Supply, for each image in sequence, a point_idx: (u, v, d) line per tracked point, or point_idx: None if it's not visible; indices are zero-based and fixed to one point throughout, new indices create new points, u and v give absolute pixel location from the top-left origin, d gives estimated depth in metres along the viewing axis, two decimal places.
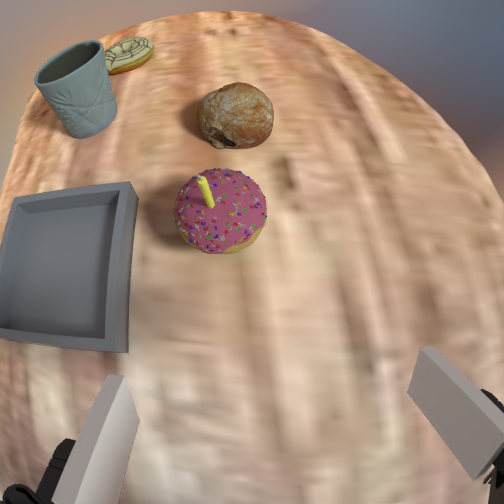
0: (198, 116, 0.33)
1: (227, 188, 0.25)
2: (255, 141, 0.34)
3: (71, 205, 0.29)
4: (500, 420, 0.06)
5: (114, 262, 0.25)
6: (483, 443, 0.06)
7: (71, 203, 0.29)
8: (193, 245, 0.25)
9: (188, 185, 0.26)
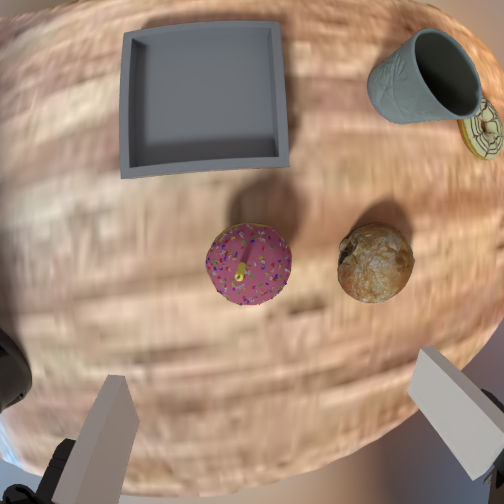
0: (374, 227, 0.32)
1: (259, 278, 0.28)
2: (340, 284, 0.35)
3: (272, 94, 0.28)
4: (500, 420, 0.06)
5: (198, 166, 0.28)
6: (483, 443, 0.06)
7: (272, 95, 0.28)
8: (212, 244, 0.29)
9: (268, 239, 0.28)
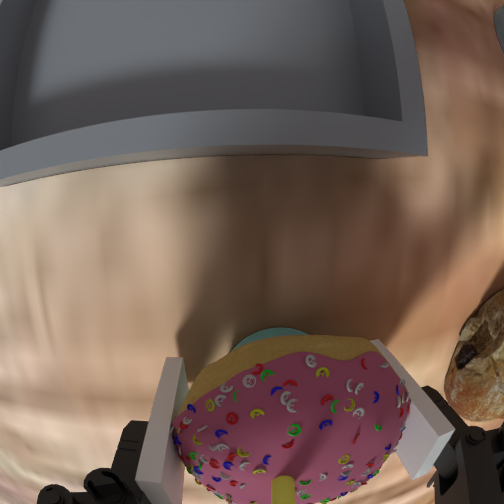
0: None
1: (326, 494, 0.07)
2: (450, 399, 0.14)
3: None
4: (435, 419, 0.07)
5: (130, 136, 0.07)
6: (418, 441, 0.07)
7: None
8: (186, 402, 0.08)
9: (372, 405, 0.07)
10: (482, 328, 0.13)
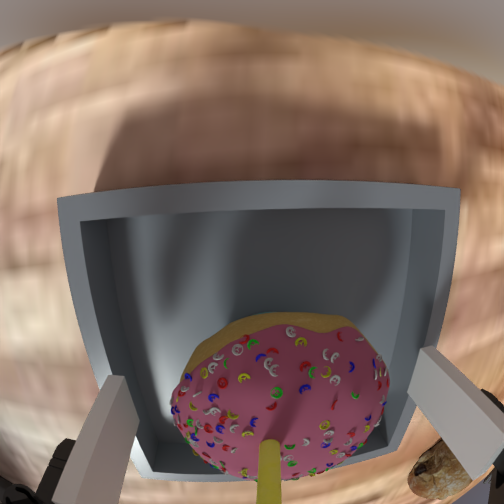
0: None
1: (312, 462, 0.08)
2: (409, 486, 0.21)
3: (401, 343, 0.15)
4: (500, 420, 0.06)
5: None
6: (483, 443, 0.06)
7: (404, 350, 0.14)
8: (184, 373, 0.09)
9: (348, 374, 0.08)
10: (432, 457, 0.20)
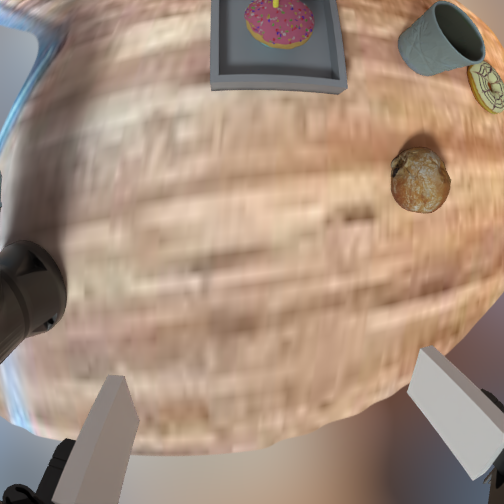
0: (418, 147, 0.35)
1: (289, 15, 0.25)
2: (395, 194, 0.38)
3: (329, 39, 0.31)
4: (500, 420, 0.06)
5: (278, 78, 0.31)
6: (483, 443, 0.06)
7: (331, 39, 0.31)
8: (250, 4, 0.26)
9: None
10: (400, 161, 0.37)
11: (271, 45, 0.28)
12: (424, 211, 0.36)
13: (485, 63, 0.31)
